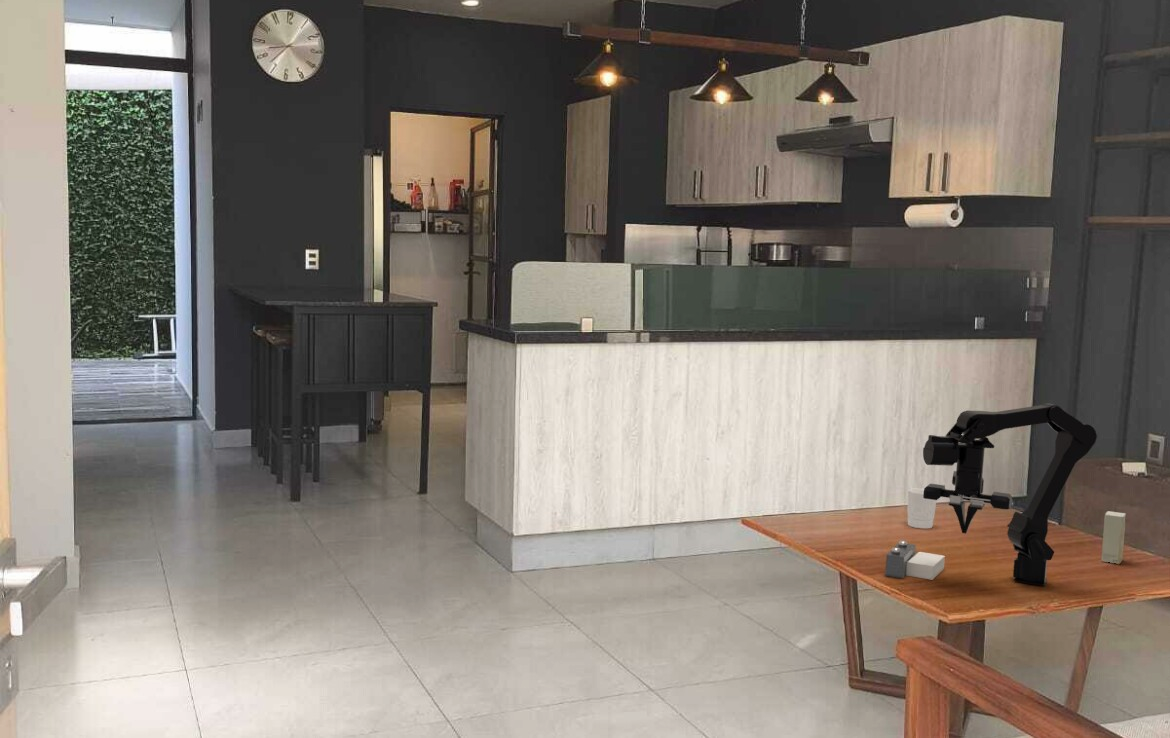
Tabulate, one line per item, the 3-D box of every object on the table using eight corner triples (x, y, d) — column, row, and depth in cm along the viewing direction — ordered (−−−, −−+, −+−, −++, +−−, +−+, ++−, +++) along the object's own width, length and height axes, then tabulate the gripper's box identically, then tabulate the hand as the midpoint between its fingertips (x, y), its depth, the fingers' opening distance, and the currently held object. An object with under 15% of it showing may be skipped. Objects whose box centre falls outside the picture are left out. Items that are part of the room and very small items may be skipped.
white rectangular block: (943, 570, 262) (944, 555, 262) (932, 581, 252) (933, 566, 252) (918, 565, 265) (919, 551, 265) (905, 576, 255) (906, 562, 255)
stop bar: (914, 565, 264) (916, 540, 264) (902, 578, 252) (904, 553, 251) (897, 562, 266) (899, 538, 265) (885, 575, 254) (886, 550, 253)
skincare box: (1119, 564, 273) (1123, 517, 272) (1100, 561, 275) (1104, 514, 274) (1122, 559, 278) (1126, 512, 277) (1103, 556, 281) (1107, 510, 279)
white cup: (901, 522, 311) (903, 487, 310) (927, 523, 311) (930, 488, 311) (912, 529, 303) (914, 493, 302) (939, 529, 304) (942, 494, 303)
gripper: (1017, 466, 253) (1011, 532, 254) (934, 456, 261) (929, 520, 263) (1011, 473, 243) (1005, 542, 244) (925, 463, 252) (920, 529, 253)
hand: (964, 533), depth 251 cm, fingers closed
